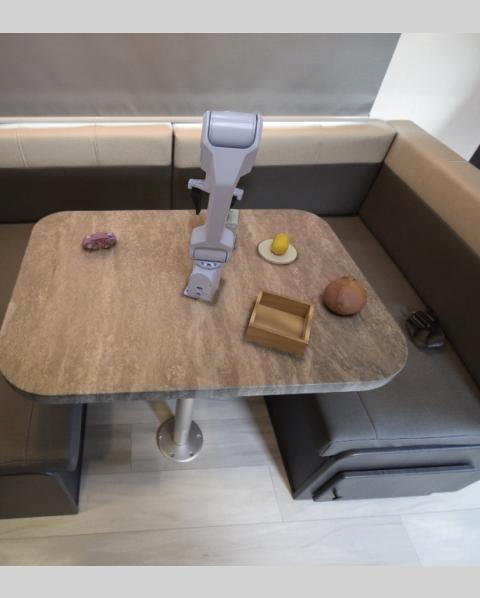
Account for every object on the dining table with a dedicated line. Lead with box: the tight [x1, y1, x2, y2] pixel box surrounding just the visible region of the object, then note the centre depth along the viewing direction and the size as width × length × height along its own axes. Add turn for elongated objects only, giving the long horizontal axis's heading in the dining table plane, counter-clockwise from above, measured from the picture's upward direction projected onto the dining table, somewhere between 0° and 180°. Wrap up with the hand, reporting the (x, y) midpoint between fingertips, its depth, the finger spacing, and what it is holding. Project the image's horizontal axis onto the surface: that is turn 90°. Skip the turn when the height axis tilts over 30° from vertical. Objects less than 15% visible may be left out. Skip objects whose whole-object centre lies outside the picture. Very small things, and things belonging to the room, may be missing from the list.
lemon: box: [271, 233, 291, 254], centre depth 100 cm, size 7×5×5 cm, turn 157°
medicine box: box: [225, 208, 240, 250], centre depth 103 cm, size 8×4×9 cm, turn 168°
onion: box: [323, 274, 368, 317], centre depth 84 cm, size 10×9×10 cm
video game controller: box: [81, 231, 117, 251], centre depth 100 cm, size 10×5×7 cm, turn 106°
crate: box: [244, 288, 315, 357], centre depth 80 cm, size 13×13×5 cm
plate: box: [257, 238, 298, 265], centre depth 102 cm, size 11×11×1 cm
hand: (211, 216), depth 98 cm, fingers open, 7 cm apart
